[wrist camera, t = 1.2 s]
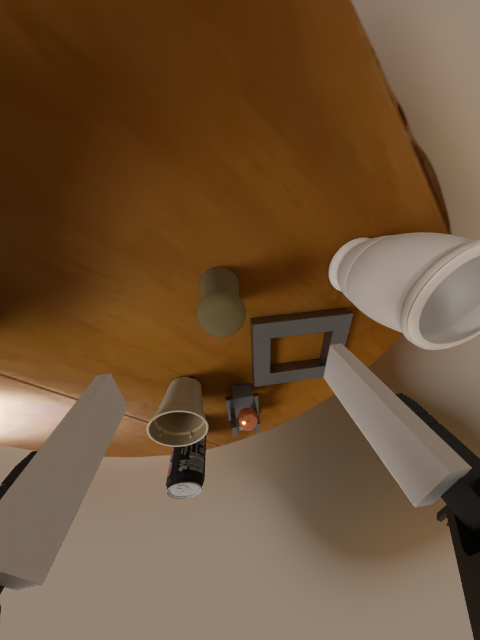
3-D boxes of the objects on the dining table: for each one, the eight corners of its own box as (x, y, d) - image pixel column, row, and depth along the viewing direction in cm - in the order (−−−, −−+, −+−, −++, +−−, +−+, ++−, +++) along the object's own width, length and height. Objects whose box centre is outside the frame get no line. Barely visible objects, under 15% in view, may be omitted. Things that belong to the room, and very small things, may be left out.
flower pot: (219, 386, 38) (220, 427, 30) (187, 409, 40) (181, 453, 32) (184, 361, 33) (175, 401, 26) (150, 388, 36) (133, 433, 28)
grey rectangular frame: (252, 378, 38) (254, 386, 36) (250, 318, 31) (252, 324, 29) (331, 367, 39) (337, 375, 37) (345, 307, 32) (353, 313, 30)
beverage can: (185, 436, 44) (176, 503, 33) (171, 421, 41) (156, 490, 30) (211, 427, 44) (210, 492, 33) (198, 411, 40) (193, 478, 30)
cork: (246, 278, 28) (263, 308, 18) (228, 310, 30) (234, 353, 20) (209, 258, 26) (206, 280, 16) (193, 295, 28) (181, 333, 18)
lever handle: (251, 414, 40) (253, 430, 38) (236, 416, 39) (238, 432, 38) (257, 405, 27) (261, 428, 25) (235, 408, 27) (238, 432, 25)
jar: (310, 291, 30) (385, 345, 17) (339, 221, 25) (472, 219, 12) (364, 301, 32) (467, 356, 19) (399, 239, 28) (567, 253, 14)
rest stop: (232, 393, 39) (233, 407, 36) (231, 385, 38) (232, 399, 35) (250, 391, 39) (253, 404, 36) (250, 383, 38) (253, 396, 35)
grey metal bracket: (228, 417, 43) (230, 443, 38) (225, 397, 39) (227, 422, 34) (258, 413, 43) (263, 437, 38) (257, 392, 40) (263, 416, 35)
